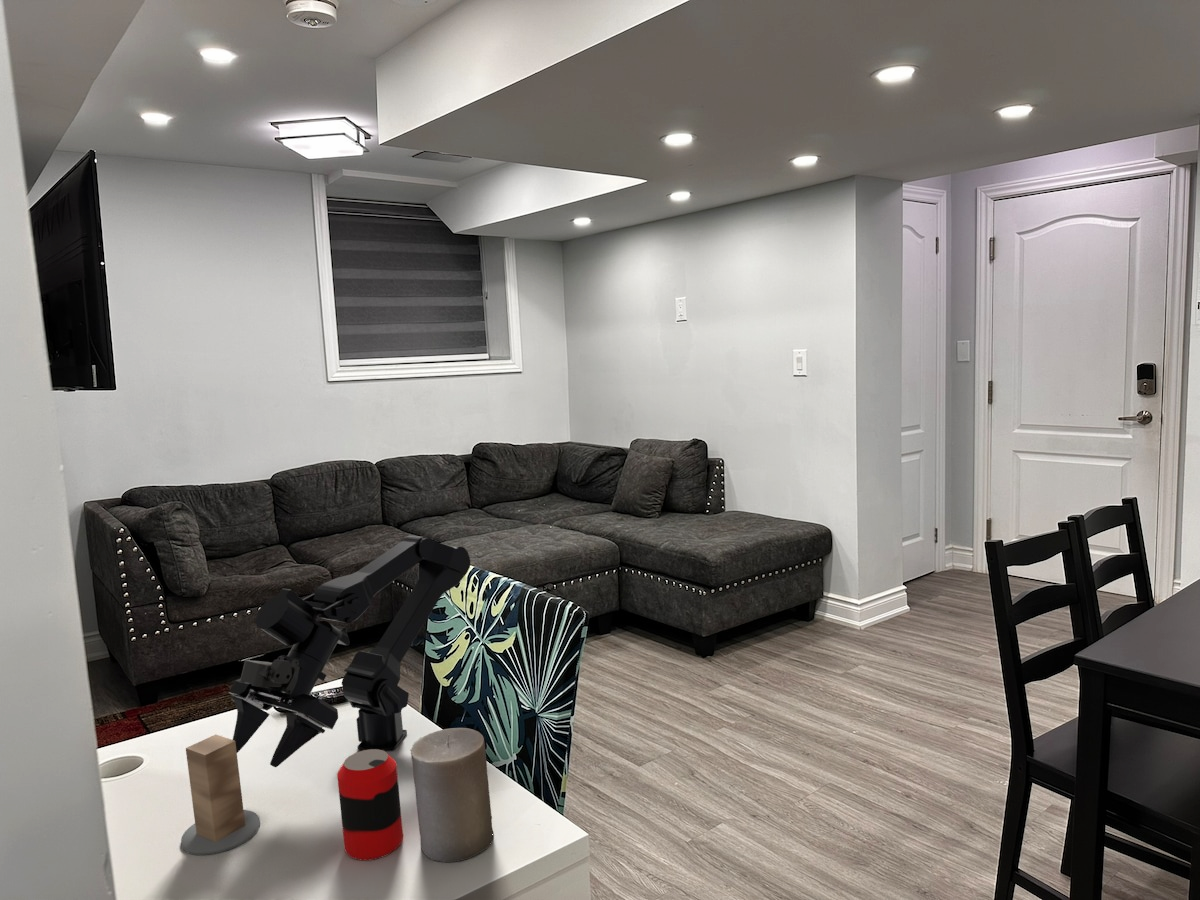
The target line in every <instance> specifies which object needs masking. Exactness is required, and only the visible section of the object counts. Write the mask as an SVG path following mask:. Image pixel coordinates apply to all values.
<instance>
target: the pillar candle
mask: <svg viewBox="0 0 1200 900" xmlns="http://www.w3.org/2000/svg"><path fill="white" fill-rule="evenodd" d="M486 752H487V751H486V743H485V737H484V736H483V734H482V733H481V732H480V731H478V730H475V729H472V728H467V727H453V728H452V727H451V728H445V729H440V730H437V731H434V732H431V733H428V734H426V735H424V736H422V737H420V738H419V739H417V740H416V741H414V743H413V744H412V746H411V748H410V755H411V763H412V773H413V783H414V791H415V792H414V793H415V802H416V803H415V804H416V811H417V812H416V813H417V821H418V828H419V829H418V830H419V837H420V838H419V840H420V847H421V850H422V852H423V853H424V854H425V856H427V857H428V858H429V859H430V860H432V861H435V860H436V862H440V861H442V862H444V863H454V862H453V861H455V862H460V861H463V860H467V859H470V858H473V857H475V856H476V855H478V854H480V853H481V852H484V850H486V849H488V848H489V846H490V845H491V844H492V842H493V840H494V829H493V822H492V821H493V820H492V819H493V815H492V808H491V797H490V786H489V785H490V784H489V774H488V765H487V754H486ZM492 834H493V835H492ZM490 843H491V844H490ZM442 862H441V863H442Z"/></svg>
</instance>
